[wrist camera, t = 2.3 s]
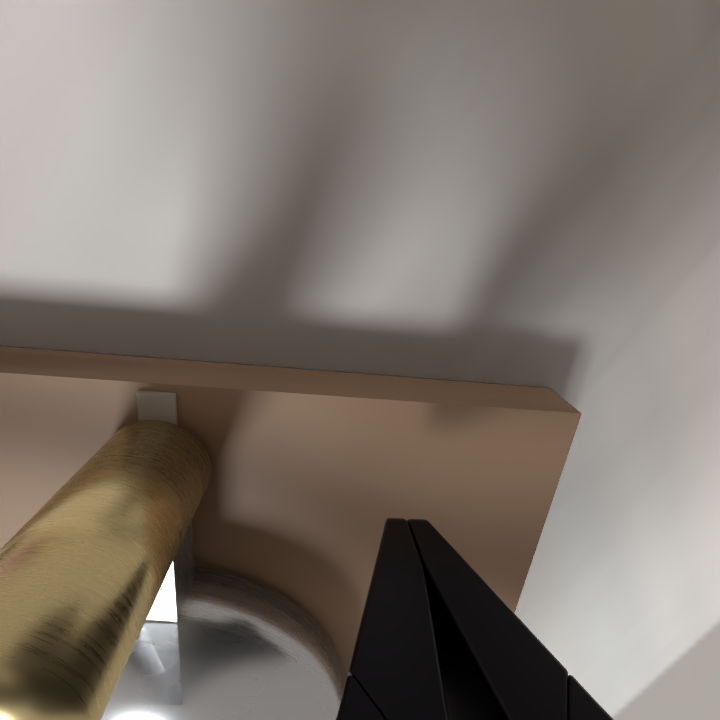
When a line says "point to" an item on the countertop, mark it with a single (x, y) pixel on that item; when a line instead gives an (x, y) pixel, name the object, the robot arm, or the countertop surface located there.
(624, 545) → the countertop surface
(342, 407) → the dial panel
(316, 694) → the dial
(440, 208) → the countertop surface
